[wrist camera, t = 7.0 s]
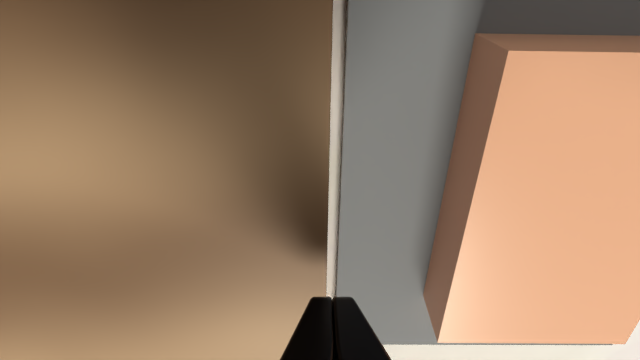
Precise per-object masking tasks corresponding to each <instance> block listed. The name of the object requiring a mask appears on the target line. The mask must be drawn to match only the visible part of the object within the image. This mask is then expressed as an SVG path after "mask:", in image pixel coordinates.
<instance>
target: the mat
mask: <svg viewBox="0 0 640 360" xmlns="http://www.w3.org/2000/svg"><path fill="white" fill-rule="evenodd" d="M475 33H484V34H552V35H621V36H640V0H347V24H346V49H345V75H344V100H343V125H342V150H341V175H340V200H339V226H338V251H337V276H336V297H352V298H353V299H354V300H355V301H356V303H357V305H358V306H359V308H360V310H361V311H362V313H363V314H364V316H365V318H366V319H367V321H368V323H369V324H370V326H371V327H372V329H373V331H374V332H375V334H376V336H377V337H378V339H379V341H380V342H381V344H431V345H613V344H544V343H437V340H436V336H435V333H434V330H433V327H432V323H431V320H430V317H429V313H428V310H427V307H426V304H425V300H424V297H423V293H424V288H425V283H426V278H427V273H428V268H429V263H430V258H431V253H432V248H433V243H434V238H435V233H436V228H437V223H438V218H439V213H440V208H441V203H442V198H443V192H444V187H445V182H446V177H447V172H448V167H449V162H450V157H451V152H452V147H453V142H454V137H455V132H456V127H457V122H458V117H459V112H460V107H461V102H462V97H463V92H464V87H465V82H466V77H467V72H468V67H469V62H470V57H471V52H472V47H473V42H474V37H475Z"/></svg>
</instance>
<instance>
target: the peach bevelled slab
mask: <svg viewBox="0 0 640 360" xmlns="http://www.w3.org/2000/svg"><path fill="white" fill-rule="evenodd" d="M423 297H424V300H425V304H426V307H427V310H428V313H429V317H430V320H431V323H432V327H433V330H434V333H435V336H436V340H437V343H544V344H625V343H626V342H627V340H628V338H629V337H630V335H631V333H632V332H633V330H634V328H635V327H636V325H637V323H638V322H639V320H640V36H621V35H552V34H484V33H475V37H474V42H473V47H472V52H471V57H470V62H469V67H468V72H467V77H466V82H465V87H464V92H463V97H462V102H461V107H460V112H459V117H458V122H457V127H456V132H455V137H454V142H453V147H452V152H451V157H450V162H449V167H448V172H447V177H446V182H445V187H444V192H443V198H442V203H441V208H440V213H439V218H438V223H437V228H436V233H435V238H434V243H433V248H432V253H431V258H430V263H429V268H428V273H427V278H426V283H425V288H424V293H423Z"/></svg>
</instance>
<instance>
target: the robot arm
mask: <svg viewBox="0 0 640 360" xmlns="http://www.w3.org/2000/svg"><path fill="white" fill-rule="evenodd" d="M280 360H391V358H390V357H389V355H388V354H387V352H386V350H385V349H384V347H383V345H382V344H381V342H380V341H379V339H378V337H377V336H376V334H375V332H374V331H373V329H372V327H371V326H370V324H369V323H368V321H367V319H366V318H365V316H364V314H363V313H362V311H361V310H360V308H359V306H358V305H357V303H356V301H355V300H354V299H353V298H352V297H334V298H333V299H331V298H330V297H312V298H311V299H310V301H309V303H308V305H307V307H306V309H305V311H304V313H303V315H302V317H301V319H300V321H299V323H298V325H297V327H296V329H295V331H294V333H293V335H292V337H291V339H290V341H289V342H288V344H287V346H286V348H285V350H284V352H283V354H282V356H281V358H280Z"/></svg>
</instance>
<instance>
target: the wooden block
mask: <svg viewBox="0 0 640 360" xmlns="http://www.w3.org/2000/svg"><path fill="white" fill-rule="evenodd" d="M332 14H333V0H0V360H280V358H281V356H282V354H283V352H284V350H285V348H286V346H287V344H288V342H289V341H290V339H291V337H292V335H293V333H294V331H295V329H296V327H297V325H298V323H299V321H300V319H301V317H302V315H303V313H304V311H305V309H306V307H307V305H308V303H309V301H310V299H311V298H312V297H326V276H327V232H328V189H329V145H330V102H331V58H332Z"/></svg>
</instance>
